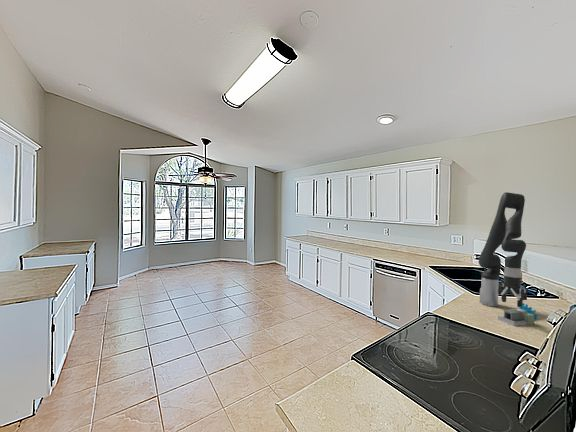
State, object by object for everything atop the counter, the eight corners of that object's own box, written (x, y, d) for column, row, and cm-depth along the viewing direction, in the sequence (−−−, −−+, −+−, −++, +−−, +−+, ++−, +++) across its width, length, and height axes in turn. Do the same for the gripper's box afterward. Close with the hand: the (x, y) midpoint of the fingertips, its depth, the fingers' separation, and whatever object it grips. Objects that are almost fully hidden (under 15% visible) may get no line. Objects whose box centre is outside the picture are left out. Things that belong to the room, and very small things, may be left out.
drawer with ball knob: (497, 319, 160) (497, 308, 159) (515, 317, 163) (515, 307, 163) (514, 326, 150) (515, 315, 150) (534, 324, 153) (534, 313, 153)
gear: (528, 318, 157) (517, 301, 164) (520, 323, 161) (509, 306, 168) (543, 319, 159) (531, 303, 166) (534, 324, 163) (523, 307, 170)
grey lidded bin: (513, 317, 159) (513, 309, 159) (522, 321, 154) (522, 312, 154) (503, 318, 157) (503, 310, 157) (512, 322, 153) (512, 313, 152)
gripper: (531, 278, 149) (530, 308, 150) (505, 272, 163) (504, 299, 164) (520, 278, 148) (519, 309, 148) (494, 272, 162) (494, 300, 162)
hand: (511, 304), depth 156 cm, fingers open, 8 cm apart
